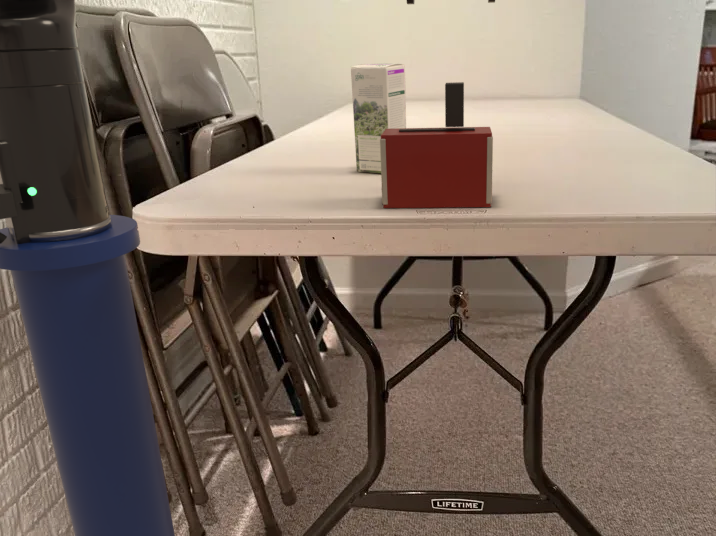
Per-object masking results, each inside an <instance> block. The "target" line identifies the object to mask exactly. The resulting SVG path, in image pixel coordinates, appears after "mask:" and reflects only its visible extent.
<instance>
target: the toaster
mask: <svg viewBox="0 0 716 536" xmlns="http://www.w3.org/2000/svg"><path fill="white" fill-rule="evenodd" d="M493 151H494V136H493V132H492V129H491V126H464V127H406V128H396V129H386V130H385V131H384V132H383V133H382V134H381V139H380V156H381V173H380V178H381V179H380V181H381V182H380V183H381V204H382V205H383V207H382V208H383V209H417V208H418V209H428V208H429V209H433V208H491V207H492V204H493V161H494V159H493V158H494V157H493V153H494V152H493Z"/></svg>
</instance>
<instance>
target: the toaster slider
mask: <svg viewBox="0 0 716 536" xmlns="http://www.w3.org/2000/svg"><path fill="white" fill-rule="evenodd" d="M444 107H445V109H444V110H445V113H444V115H445V116H444V118H445V119H444V120H445V125H444V128H449V127H465V82H464V81H461V82H460V81H459V82H457V81H456V82H445V84H444Z"/></svg>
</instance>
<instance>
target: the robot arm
mask: <svg viewBox="0 0 716 536" xmlns="http://www.w3.org/2000/svg"><path fill="white" fill-rule="evenodd" d="M487 3H489V4H491V3H493V4H494V3H496V0H487ZM406 4H407V5H415V0H406ZM76 9H77V7H76V0H0V220H4V219H5V223H6V227H7V228H8V232H9V234H10V235H11V238H12V239H14V240H15V242H16V243H17V244H24V243H32V242H56V241H64V240H71V239H78V238H82V237H87V236H91V235H95V234H98V233H101V232H103V231H105V230H107V229H109V228H110V227H111V226H112V223H111V217H110V215H111V214H110V212H109V210H110V209H109V205H108V202H107V196H106V191H105V186H104V179H103V175H102V169H101V164H100V159H99V154H98V153H99V152H98V148H97V143H96V137H95V132H94V126H93V121H92V116H91V110H90V106H89V105H90V104H89V100H88V93H87V89H86V88H87V87H86V83H85V77H84V72H83V66H82V61H81V54H80V49H78V48H79V44H78V37H77V29H76V27H77V26H76V23H77V22H76V20H77V10H76ZM6 238H7V236H5V235H4V234H2V233H1V232H0V244H1V243H2V242H3V241H4V240H5V239H6Z"/></svg>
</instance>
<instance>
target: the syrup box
mask: <svg viewBox="0 0 716 536" xmlns="http://www.w3.org/2000/svg"><path fill="white" fill-rule="evenodd" d="M350 74H351V75H350V77H351V78H350V79H351V94H352V95H351V97H352V111H353V112H352V113H353V129H354V146H355V147H354V148H355V163H356V172H358V173H359V172H360V173H371V174H373V173H374V174H381V156H380V139H381V134H382V133H383V132H384V131H385V130H386V129H396V128H407V106H406V105H407V104H406V103H407V101H406V100H407V99H406V98H407V95H406V93H407V92H406V67H405V64H404V63H363V64H362V63H361V64H356V65H353V66H350Z"/></svg>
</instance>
